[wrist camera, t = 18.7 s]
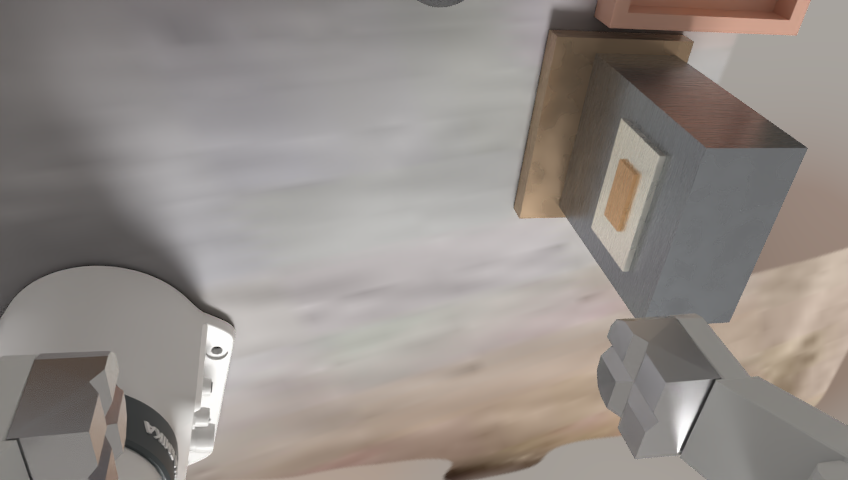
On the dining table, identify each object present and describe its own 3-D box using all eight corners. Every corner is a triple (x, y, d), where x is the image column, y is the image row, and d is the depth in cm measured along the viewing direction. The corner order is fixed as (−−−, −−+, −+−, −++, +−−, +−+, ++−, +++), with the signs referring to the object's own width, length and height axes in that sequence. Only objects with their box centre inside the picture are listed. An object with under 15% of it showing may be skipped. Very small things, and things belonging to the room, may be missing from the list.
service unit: (630, 205, 56) (737, 333, 44) (513, 208, 54) (591, 343, 41) (682, 34, 48) (831, 130, 36) (549, 29, 46) (658, 129, 34)
